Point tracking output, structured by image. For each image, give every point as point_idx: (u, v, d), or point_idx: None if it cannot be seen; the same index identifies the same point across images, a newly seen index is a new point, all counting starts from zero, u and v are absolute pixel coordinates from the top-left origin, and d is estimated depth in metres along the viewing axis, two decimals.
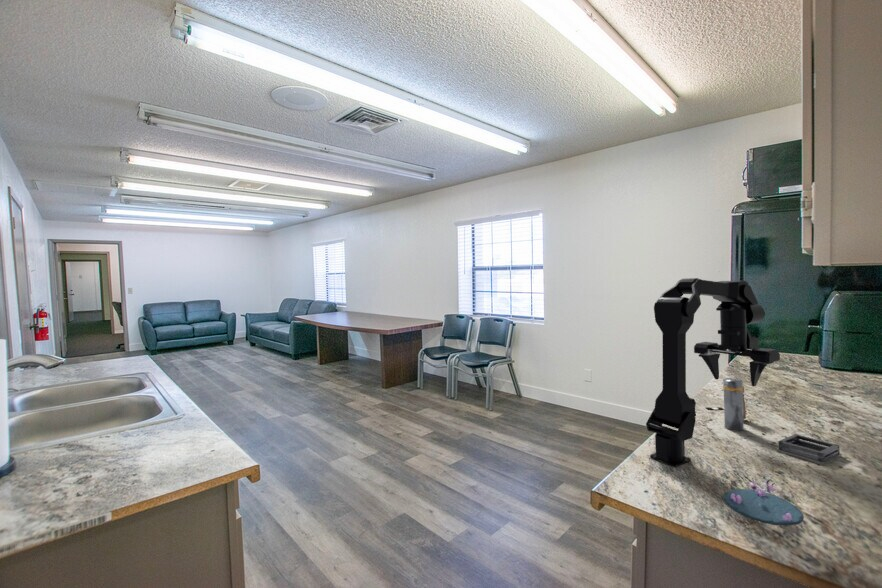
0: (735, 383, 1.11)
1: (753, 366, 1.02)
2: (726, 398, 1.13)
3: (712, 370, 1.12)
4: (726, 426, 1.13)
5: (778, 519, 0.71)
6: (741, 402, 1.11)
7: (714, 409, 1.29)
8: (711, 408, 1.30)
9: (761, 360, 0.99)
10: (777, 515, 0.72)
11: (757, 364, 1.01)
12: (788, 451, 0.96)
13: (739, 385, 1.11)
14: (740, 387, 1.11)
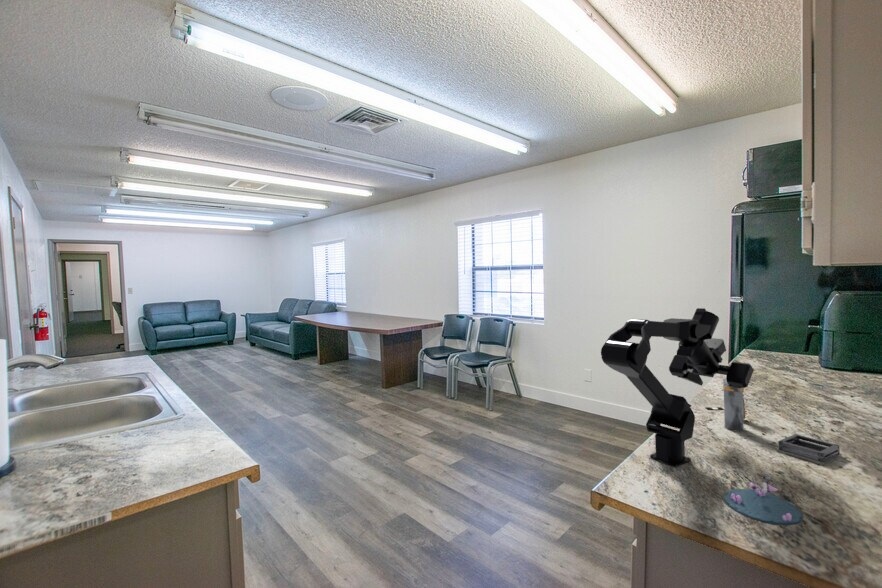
0: None
1: (733, 387, 1.01)
2: (726, 398, 1.13)
3: (695, 382, 1.12)
4: (726, 426, 1.13)
5: (778, 519, 0.71)
6: (741, 402, 1.11)
7: (714, 409, 1.29)
8: (711, 408, 1.30)
9: (739, 386, 0.98)
10: (777, 515, 0.72)
11: (736, 387, 1.00)
12: (788, 451, 0.96)
13: None
14: None
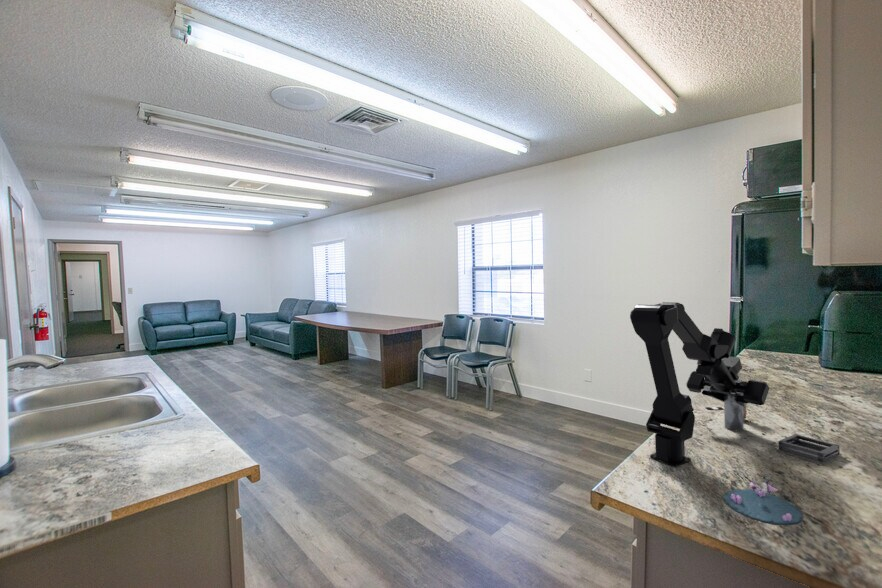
0: None
1: (740, 402, 1.08)
2: (726, 398, 1.13)
3: (720, 399, 1.15)
4: (726, 426, 1.13)
5: (778, 519, 0.71)
6: None
7: (714, 409, 1.29)
8: (711, 408, 1.30)
9: (756, 403, 1.03)
10: (777, 515, 0.72)
11: (743, 402, 1.06)
12: (788, 451, 0.96)
13: None
14: None
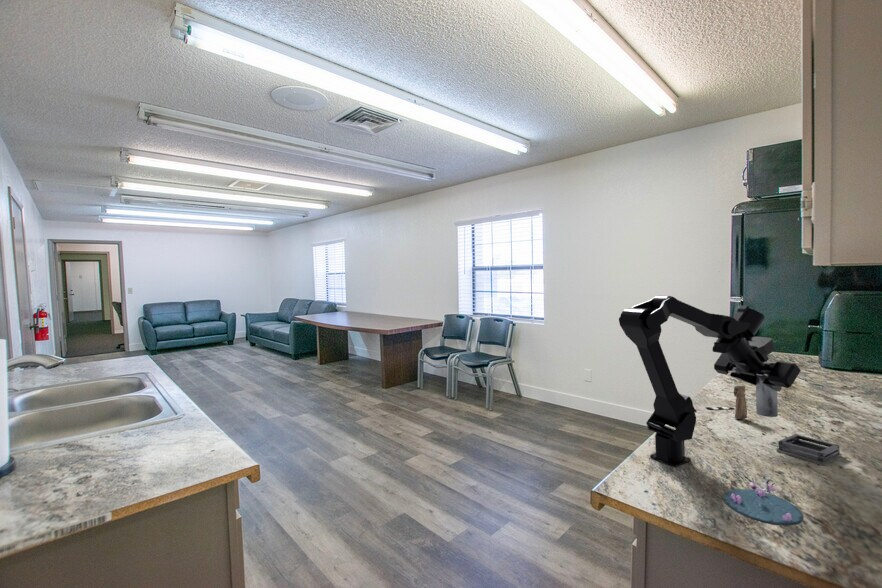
0: None
1: (768, 385, 1.01)
2: (757, 381, 1.06)
3: (752, 383, 1.07)
4: (757, 411, 1.06)
5: (778, 519, 0.71)
6: None
7: (714, 409, 1.29)
8: (711, 408, 1.30)
9: (782, 386, 0.96)
10: (777, 515, 0.72)
11: (770, 385, 0.99)
12: (788, 451, 0.96)
13: None
14: None
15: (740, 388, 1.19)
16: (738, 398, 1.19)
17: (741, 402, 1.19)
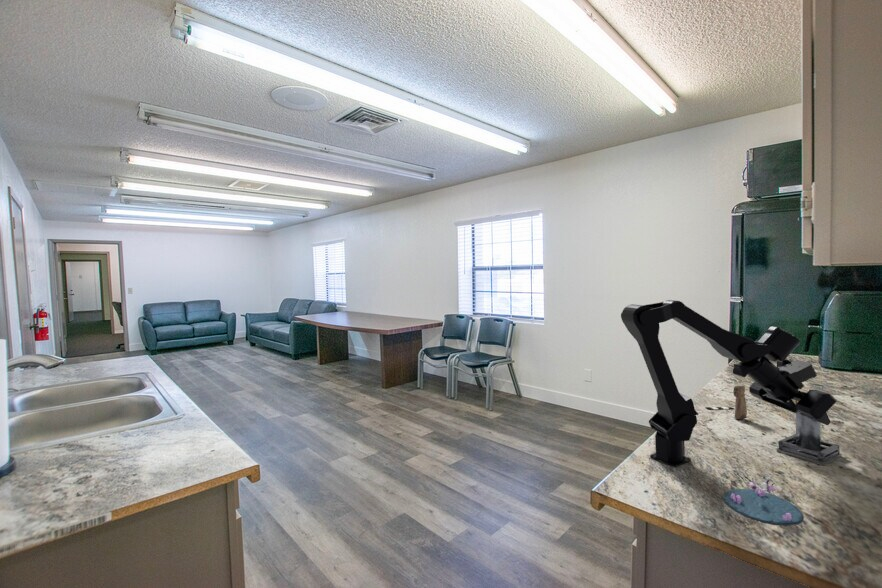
0: None
1: None
2: (796, 414, 0.96)
3: (786, 409, 1.00)
4: None
5: (778, 519, 0.71)
6: (814, 421, 0.93)
7: (714, 409, 1.29)
8: (711, 408, 1.30)
9: (810, 416, 0.88)
10: (777, 515, 0.72)
11: (808, 417, 0.89)
12: (788, 451, 0.96)
13: None
14: None
15: (740, 388, 1.19)
16: (738, 398, 1.19)
17: (741, 402, 1.19)
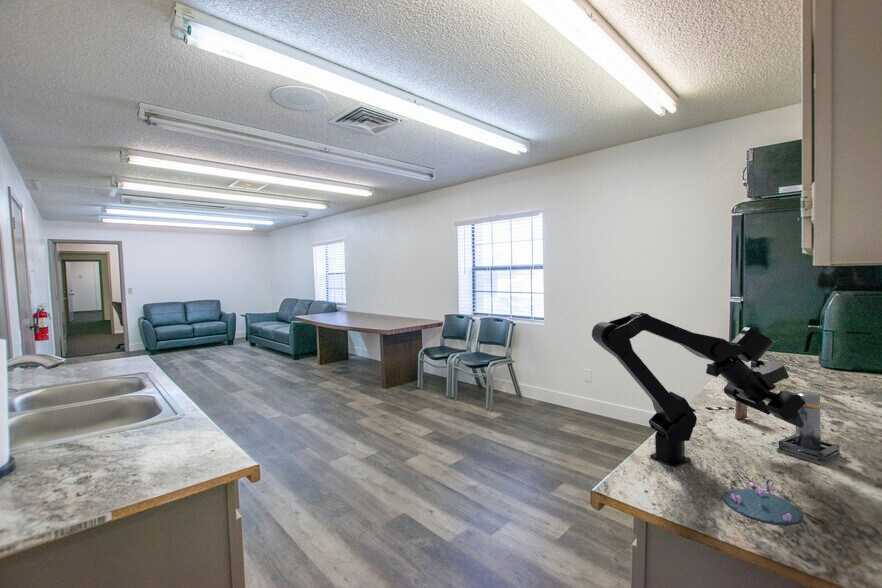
0: (805, 398, 0.94)
1: None
2: None
3: (757, 409, 1.01)
4: None
5: (778, 519, 0.71)
6: (814, 421, 0.93)
7: (714, 409, 1.29)
8: (711, 408, 1.30)
9: (780, 417, 0.88)
10: (777, 515, 0.72)
11: (781, 419, 0.89)
12: (788, 451, 0.96)
13: (812, 401, 0.93)
14: (813, 403, 0.93)
15: None
16: None
17: None
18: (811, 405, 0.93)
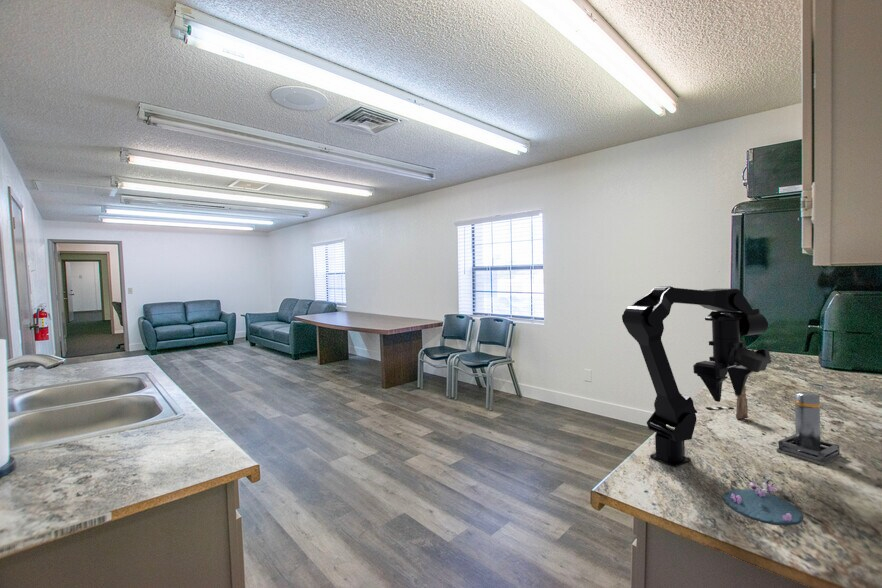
0: (805, 397, 0.94)
1: None
2: (796, 414, 0.96)
3: None
4: None
5: (778, 519, 0.71)
6: (814, 421, 0.93)
7: (714, 409, 1.29)
8: (711, 408, 1.30)
9: None
10: (777, 515, 0.72)
11: None
12: (788, 451, 0.96)
13: (811, 401, 0.93)
14: (812, 403, 0.93)
15: None
16: (739, 398, 1.19)
17: (742, 402, 1.19)
18: (811, 405, 0.94)
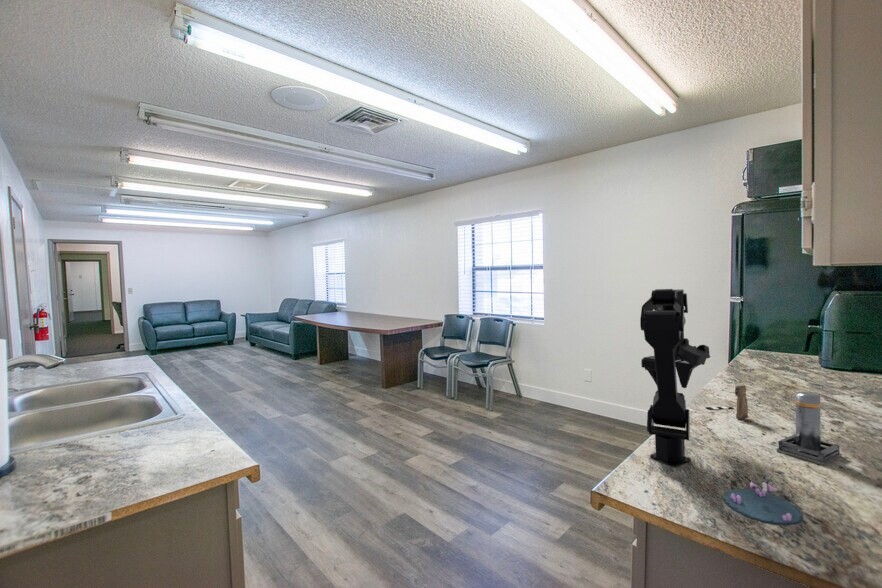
0: (805, 397, 0.94)
1: None
2: (796, 414, 0.96)
3: None
4: None
5: (778, 519, 0.71)
6: (814, 421, 0.93)
7: (714, 409, 1.29)
8: (711, 408, 1.30)
9: None
10: (777, 515, 0.72)
11: None
12: (788, 451, 0.96)
13: (812, 401, 0.93)
14: (813, 403, 0.93)
15: (741, 388, 1.19)
16: (739, 398, 1.19)
17: (742, 402, 1.19)
18: (811, 405, 0.93)
